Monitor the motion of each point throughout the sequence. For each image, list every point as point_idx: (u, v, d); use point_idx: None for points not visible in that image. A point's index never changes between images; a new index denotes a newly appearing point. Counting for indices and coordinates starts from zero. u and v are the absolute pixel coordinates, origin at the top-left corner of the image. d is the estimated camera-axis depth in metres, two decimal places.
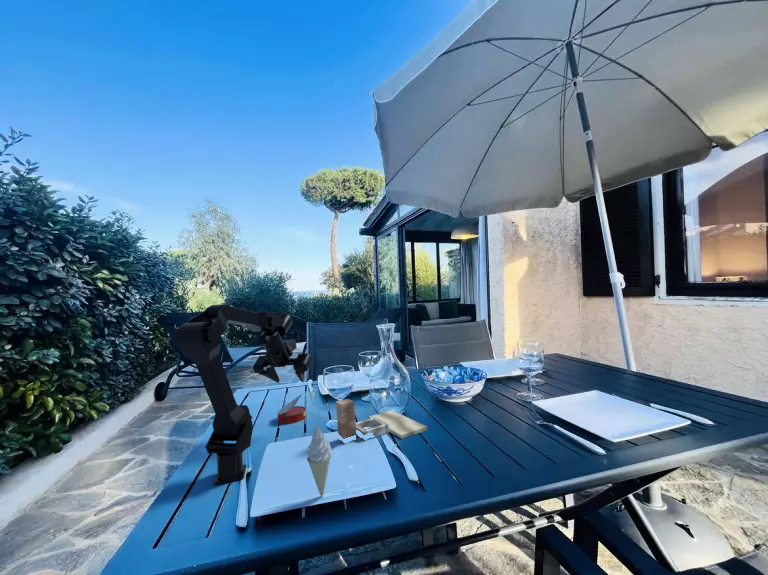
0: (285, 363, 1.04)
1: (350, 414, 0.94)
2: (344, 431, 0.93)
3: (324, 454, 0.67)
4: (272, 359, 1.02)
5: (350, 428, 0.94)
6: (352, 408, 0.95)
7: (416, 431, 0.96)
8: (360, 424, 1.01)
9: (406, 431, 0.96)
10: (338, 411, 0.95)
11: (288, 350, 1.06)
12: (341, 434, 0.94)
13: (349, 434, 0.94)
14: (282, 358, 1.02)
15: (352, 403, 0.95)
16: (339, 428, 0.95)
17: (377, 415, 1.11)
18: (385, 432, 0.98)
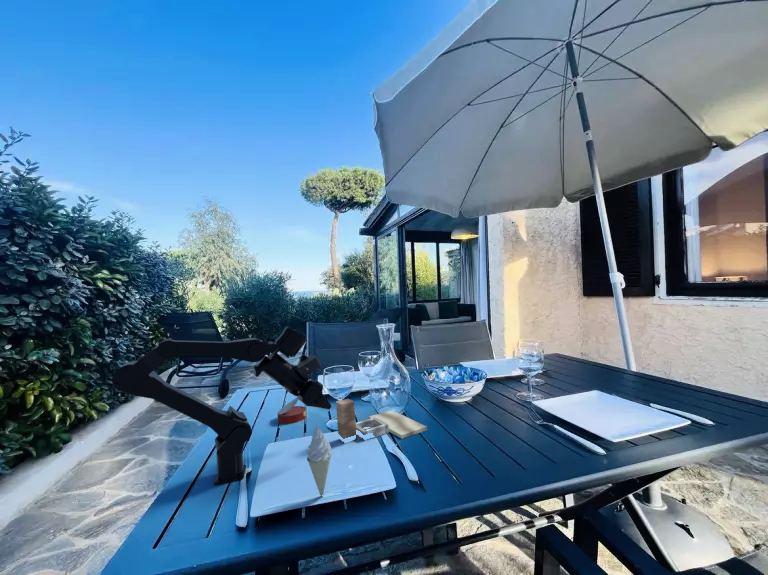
0: (296, 391, 0.87)
1: (350, 414, 0.94)
2: (344, 431, 0.93)
3: (324, 454, 0.67)
4: None
5: (351, 428, 0.94)
6: (352, 408, 0.95)
7: (416, 431, 0.96)
8: (360, 424, 1.01)
9: (406, 431, 0.96)
10: (338, 411, 0.95)
11: (300, 374, 0.88)
12: (341, 434, 0.94)
13: (349, 434, 0.94)
14: (289, 386, 0.86)
15: (352, 403, 0.95)
16: (339, 428, 0.95)
17: (377, 415, 1.11)
18: (385, 432, 0.98)
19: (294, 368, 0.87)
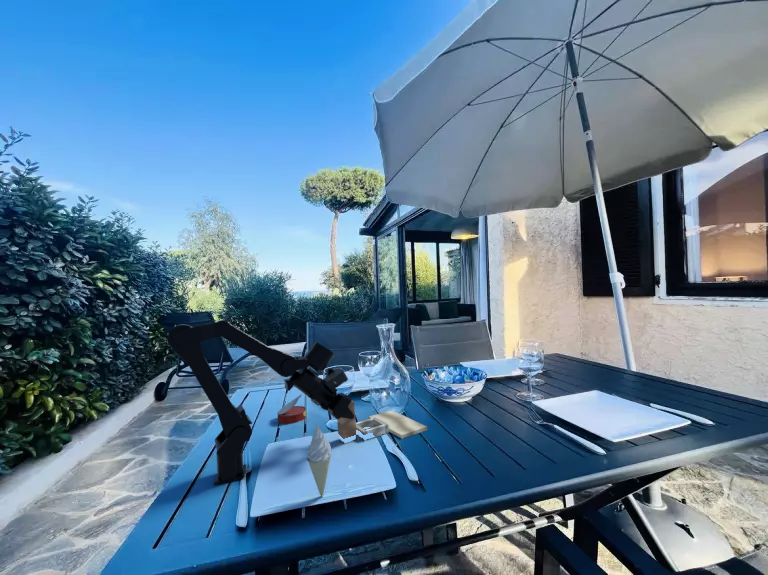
0: (325, 404, 0.90)
1: None
2: (344, 431, 0.93)
3: (324, 454, 0.67)
4: None
5: (351, 428, 0.94)
6: (352, 408, 0.95)
7: (416, 431, 0.96)
8: (360, 424, 1.01)
9: (406, 431, 0.96)
10: None
11: (329, 388, 0.91)
12: (341, 434, 0.94)
13: (349, 434, 0.94)
14: (318, 399, 0.90)
15: (352, 403, 0.95)
16: (339, 428, 0.95)
17: (377, 415, 1.11)
18: (385, 432, 0.98)
19: (323, 382, 0.91)
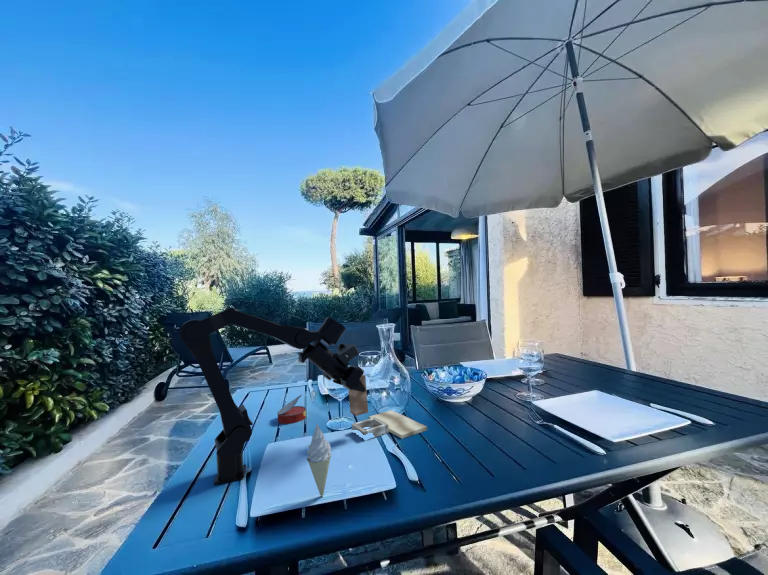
0: (337, 376, 0.93)
1: None
2: (356, 403, 0.96)
3: (324, 454, 0.67)
4: (324, 372, 0.94)
5: (362, 401, 0.97)
6: (363, 381, 0.97)
7: (416, 431, 0.96)
8: (360, 424, 1.01)
9: (406, 431, 0.96)
10: None
11: (341, 361, 0.94)
12: (353, 407, 0.97)
13: (361, 406, 0.96)
14: (331, 371, 0.92)
15: (363, 377, 0.97)
16: (351, 401, 0.98)
17: (377, 415, 1.11)
18: (385, 432, 0.98)
19: (335, 355, 0.93)
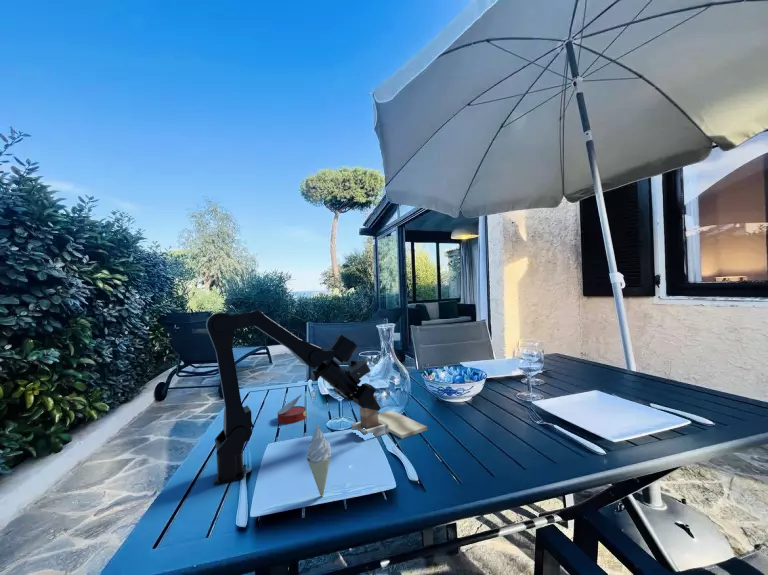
0: (349, 394, 0.94)
1: None
2: (367, 424, 0.97)
3: (324, 454, 0.67)
4: (336, 389, 0.96)
5: (373, 421, 0.98)
6: None
7: (416, 431, 0.96)
8: (360, 424, 1.01)
9: (406, 431, 0.96)
10: None
11: (353, 378, 0.95)
12: (364, 427, 0.98)
13: (372, 427, 0.98)
14: (343, 389, 0.94)
15: (375, 397, 0.99)
16: (362, 421, 0.99)
17: None
18: (385, 432, 0.98)
19: (347, 373, 0.95)
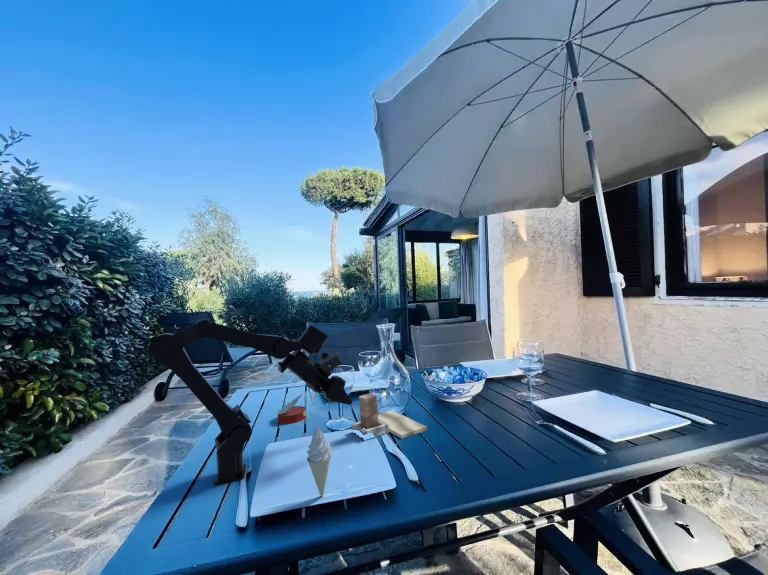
0: (319, 387, 0.90)
1: (373, 408, 0.98)
2: (367, 424, 0.97)
3: (324, 454, 0.67)
4: None
5: (373, 421, 0.98)
6: (375, 402, 0.99)
7: (416, 431, 0.96)
8: (360, 424, 1.01)
9: (406, 431, 0.96)
10: (361, 405, 0.99)
11: (323, 371, 0.91)
12: (364, 427, 0.98)
13: (372, 427, 0.98)
14: (312, 382, 0.89)
15: (375, 397, 0.99)
16: (362, 421, 0.99)
17: None
18: (385, 432, 0.98)
19: (317, 365, 0.90)
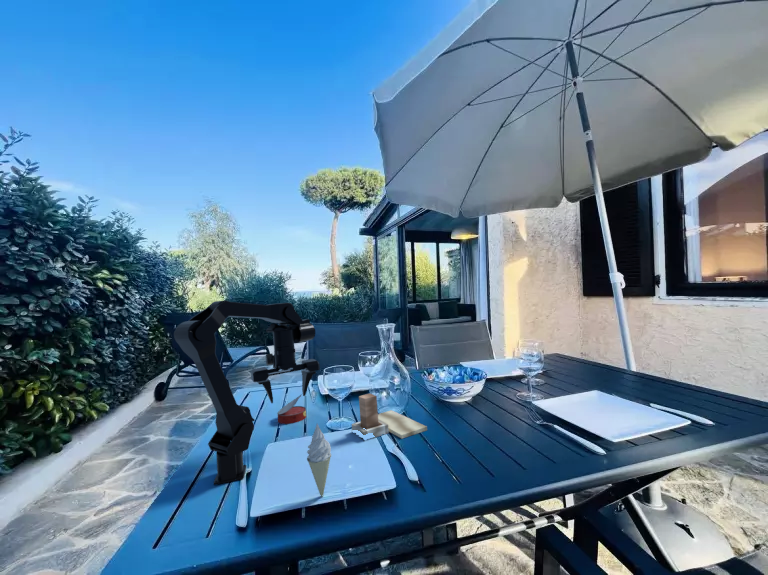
0: (295, 364, 0.96)
1: (373, 408, 0.98)
2: (367, 424, 0.97)
3: (324, 454, 0.67)
4: (285, 357, 0.93)
5: (373, 421, 0.98)
6: (375, 402, 0.99)
7: (416, 431, 0.96)
8: (360, 424, 1.01)
9: (406, 431, 0.96)
10: (361, 405, 0.99)
11: None
12: (364, 427, 0.98)
13: (372, 427, 0.98)
14: (294, 356, 0.96)
15: (375, 397, 0.99)
16: (362, 421, 0.99)
17: None
18: (385, 432, 0.98)
19: None
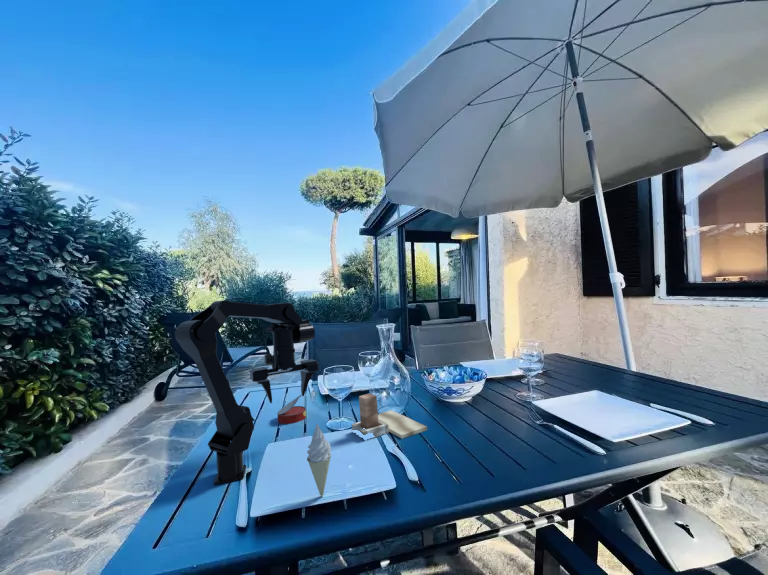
0: None
1: (373, 408, 0.98)
2: (367, 424, 0.97)
3: (324, 454, 0.67)
4: (284, 357, 0.94)
5: (373, 421, 0.98)
6: (375, 402, 0.99)
7: (416, 431, 0.96)
8: (360, 424, 1.01)
9: (406, 431, 0.96)
10: (361, 405, 0.99)
11: None
12: (364, 427, 0.98)
13: (372, 427, 0.98)
14: (293, 356, 0.96)
15: (375, 397, 0.99)
16: (362, 421, 0.99)
17: None
18: (385, 432, 0.98)
19: None
